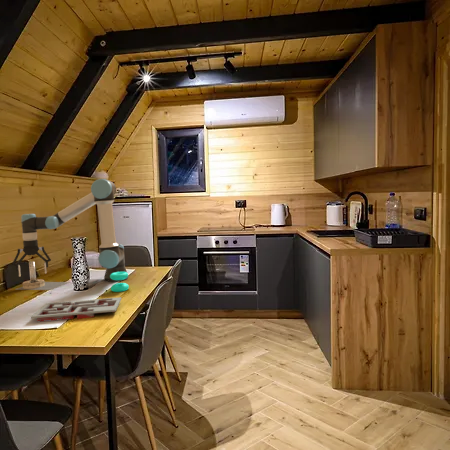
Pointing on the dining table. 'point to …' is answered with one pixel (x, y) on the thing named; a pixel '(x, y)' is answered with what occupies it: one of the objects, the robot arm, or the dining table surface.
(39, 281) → the tan faceted ring
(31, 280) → the peg
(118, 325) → the dining table surface
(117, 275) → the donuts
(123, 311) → the dining table surface
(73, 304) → the maze game
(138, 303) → the dining table surface
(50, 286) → the board
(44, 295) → the dining table surface
